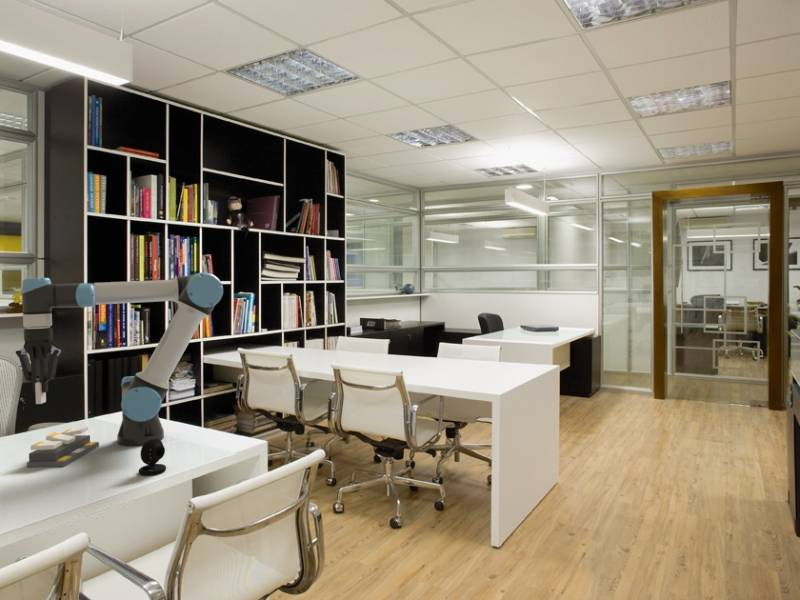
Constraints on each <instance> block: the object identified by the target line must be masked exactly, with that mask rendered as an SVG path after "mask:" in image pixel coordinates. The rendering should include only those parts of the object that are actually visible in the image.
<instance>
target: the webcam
mask: <svg viewBox="0 0 800 600" xmlns="http://www.w3.org/2000/svg"><path fill="white" fill-rule="evenodd" d="M165 452H166V449H165V446H164V444H163V441H162V439H161V440H160V439H157V438H151V439H149V440H147V441H146V442H145V443H144V444H143V445H141V449H140V454H139V455H140V459H141V461H142V463H143V464H145V465H143V466H141V467H140V468H139V469H138V474H139V475H141V476H144V477H145V476H146V477H147V476H156V475H161V474H163V473H164V472H165V471H166V469H167V466H166V465H165V464H162V463H158V462H159V461H160V460H161V459H163V457H164V456H165Z"/></svg>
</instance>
